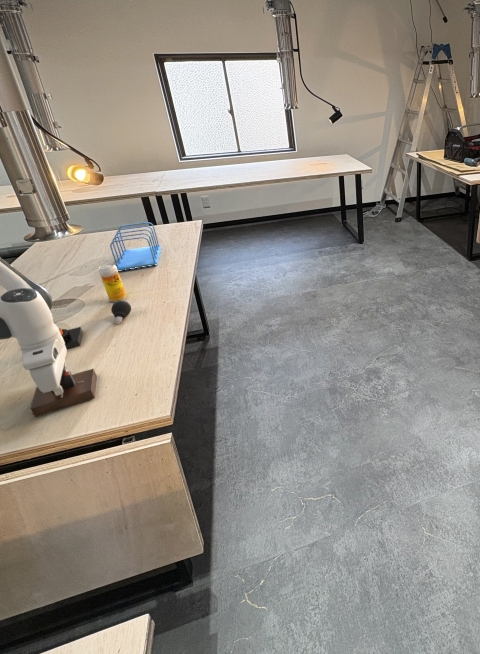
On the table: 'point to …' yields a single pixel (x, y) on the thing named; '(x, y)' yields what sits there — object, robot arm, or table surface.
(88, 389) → the rod panel
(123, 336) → the table surface
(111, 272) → the yellow canister
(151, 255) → the file sorter
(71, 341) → the button block
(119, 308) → the light bulb
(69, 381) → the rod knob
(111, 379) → the table surface
